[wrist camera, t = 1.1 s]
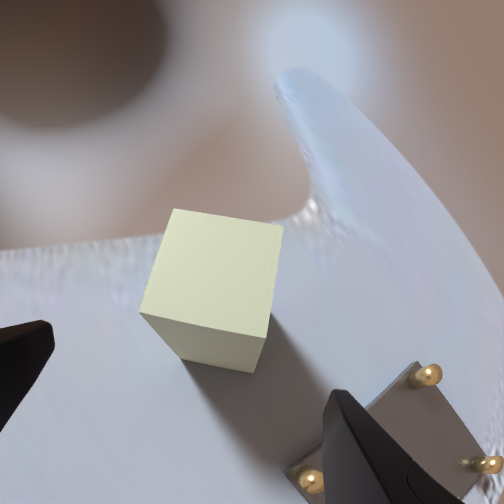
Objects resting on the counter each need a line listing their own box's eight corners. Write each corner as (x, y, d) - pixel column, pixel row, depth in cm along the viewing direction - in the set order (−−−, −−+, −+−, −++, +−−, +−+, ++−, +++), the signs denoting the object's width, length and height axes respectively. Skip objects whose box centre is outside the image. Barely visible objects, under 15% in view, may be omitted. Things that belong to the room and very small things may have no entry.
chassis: (482, 461, 16) (509, 461, 13) (375, 568, 13) (393, 584, 10) (410, 363, 21) (434, 353, 18) (282, 471, 17) (290, 481, 14)
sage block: (253, 373, 20) (266, 338, 12) (180, 358, 21) (138, 311, 12) (265, 304, 23) (283, 226, 14) (196, 292, 23) (173, 208, 14)
